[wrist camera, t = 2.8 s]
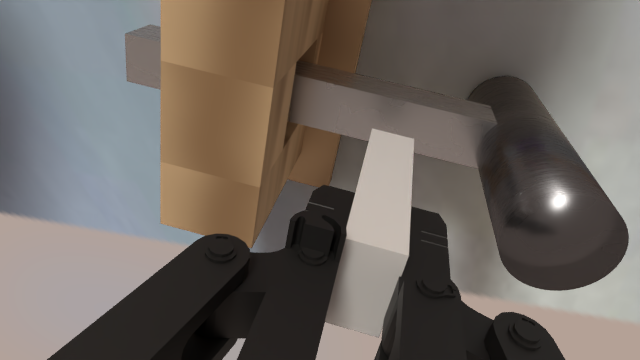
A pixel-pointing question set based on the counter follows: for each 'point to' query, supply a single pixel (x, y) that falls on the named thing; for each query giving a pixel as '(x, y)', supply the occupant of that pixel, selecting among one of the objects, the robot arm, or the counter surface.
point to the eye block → (244, 105)
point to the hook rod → (467, 158)
